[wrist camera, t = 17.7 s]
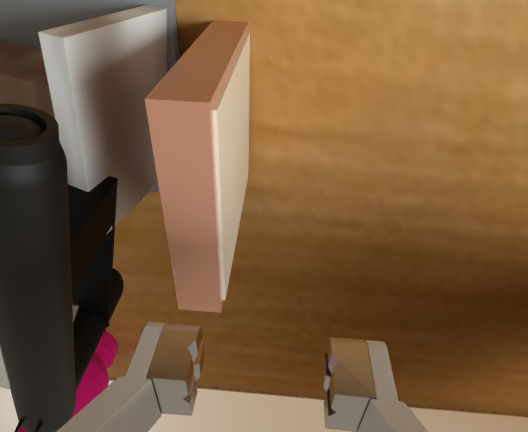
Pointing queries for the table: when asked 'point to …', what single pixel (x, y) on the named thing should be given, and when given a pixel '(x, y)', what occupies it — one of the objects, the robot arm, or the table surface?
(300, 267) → the table surface
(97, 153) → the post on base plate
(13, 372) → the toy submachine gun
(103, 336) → the pepper mill
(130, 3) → the mat
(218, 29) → the tile
